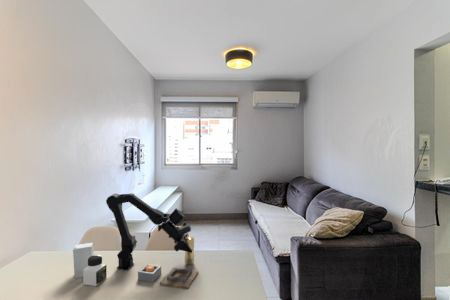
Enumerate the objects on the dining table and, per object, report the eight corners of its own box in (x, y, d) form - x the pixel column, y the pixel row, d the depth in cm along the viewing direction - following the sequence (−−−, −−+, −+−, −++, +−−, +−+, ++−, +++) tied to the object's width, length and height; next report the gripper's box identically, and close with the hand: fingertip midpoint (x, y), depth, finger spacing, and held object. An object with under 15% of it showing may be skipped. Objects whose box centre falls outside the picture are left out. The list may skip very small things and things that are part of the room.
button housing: (138, 280, 119) (137, 271, 119) (147, 271, 127) (146, 264, 127) (153, 282, 117) (153, 273, 117) (161, 273, 125) (161, 265, 125)
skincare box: (94, 270, 128) (94, 241, 128) (92, 276, 123) (92, 246, 122) (75, 273, 126) (75, 243, 125) (73, 279, 120) (72, 248, 120)
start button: (144, 275, 121) (144, 268, 121) (148, 270, 125) (148, 265, 125) (151, 276, 120) (151, 269, 120) (155, 271, 124) (155, 266, 124)
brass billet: (183, 263, 134) (183, 239, 133) (186, 259, 138) (187, 236, 138) (192, 264, 132) (192, 240, 132) (195, 260, 137) (195, 237, 137)
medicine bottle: (96, 286, 114) (96, 260, 113) (83, 284, 115) (82, 259, 115) (106, 278, 121) (106, 253, 120) (94, 276, 122) (93, 252, 122)
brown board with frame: (159, 284, 115) (159, 279, 115) (172, 269, 129) (172, 265, 129) (187, 288, 112) (187, 283, 112) (198, 273, 126) (198, 268, 126)
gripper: (180, 225, 125) (202, 246, 127) (183, 214, 144) (202, 233, 145) (164, 241, 125) (187, 262, 126) (169, 228, 143) (188, 246, 145)
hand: (192, 249), depth 135 cm, fingers closed on brass billet, 5 cm apart
